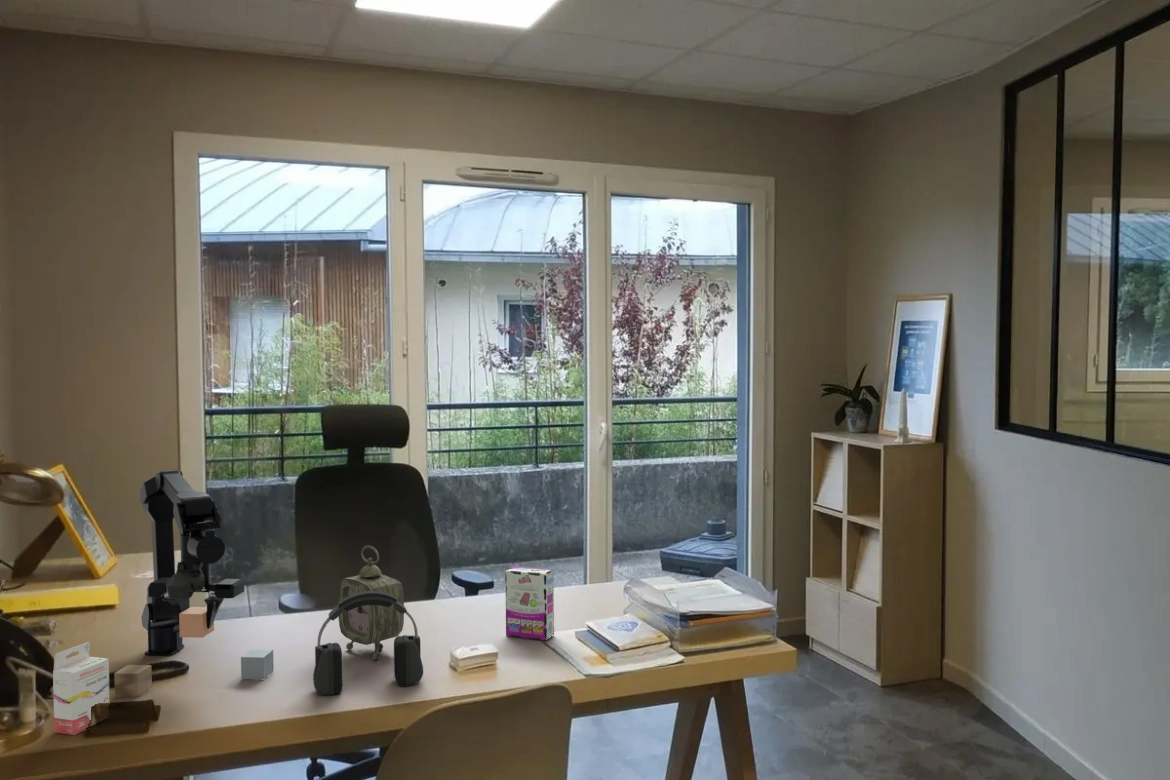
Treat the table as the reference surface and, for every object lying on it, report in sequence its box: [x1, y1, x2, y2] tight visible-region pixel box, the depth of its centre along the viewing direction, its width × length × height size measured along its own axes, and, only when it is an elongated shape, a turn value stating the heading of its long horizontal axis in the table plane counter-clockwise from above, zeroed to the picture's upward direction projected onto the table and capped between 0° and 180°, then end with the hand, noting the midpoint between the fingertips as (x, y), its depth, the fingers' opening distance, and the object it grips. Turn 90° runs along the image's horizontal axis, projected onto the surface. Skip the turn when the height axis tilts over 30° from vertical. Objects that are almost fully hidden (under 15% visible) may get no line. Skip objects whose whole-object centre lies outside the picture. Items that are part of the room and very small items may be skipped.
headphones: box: [312, 591, 424, 696], centre depth 191 cm, size 22×6×20 cm, turn 109°
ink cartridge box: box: [52, 641, 110, 736], centre depth 172 cm, size 9×5×15 cm, turn 163°
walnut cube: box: [113, 664, 153, 698], centre depth 188 cm, size 5×5×5 cm
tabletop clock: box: [337, 545, 405, 661], centre depth 212 cm, size 14×9×25 cm, turn 47°
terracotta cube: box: [179, 606, 215, 639], centre depth 194 cm, size 5×5×5 cm
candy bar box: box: [504, 566, 555, 642], centre depth 224 cm, size 11×5×16 cm, turn 68°
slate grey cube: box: [240, 648, 275, 680], centre depth 198 cm, size 5×5×5 cm
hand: (197, 627), depth 194 cm, fingers closed on terracotta cube, 5 cm apart
